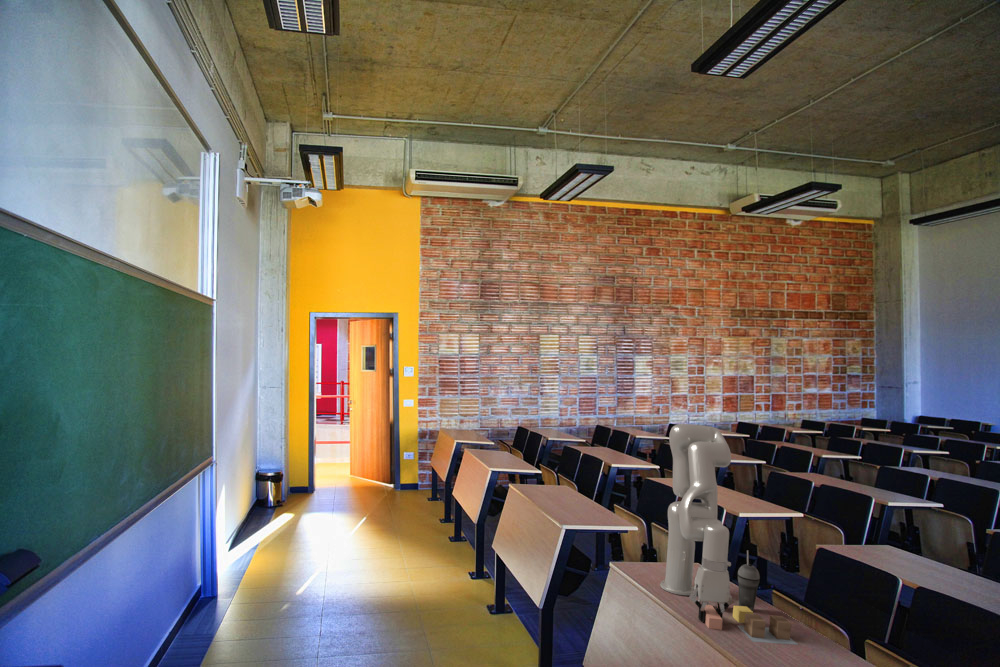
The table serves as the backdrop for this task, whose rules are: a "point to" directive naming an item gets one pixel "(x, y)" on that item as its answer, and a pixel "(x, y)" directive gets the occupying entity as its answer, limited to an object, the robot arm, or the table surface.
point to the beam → (712, 618)
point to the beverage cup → (748, 584)
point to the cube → (740, 613)
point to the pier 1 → (754, 625)
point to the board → (768, 638)
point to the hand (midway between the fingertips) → (709, 622)
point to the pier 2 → (780, 627)
